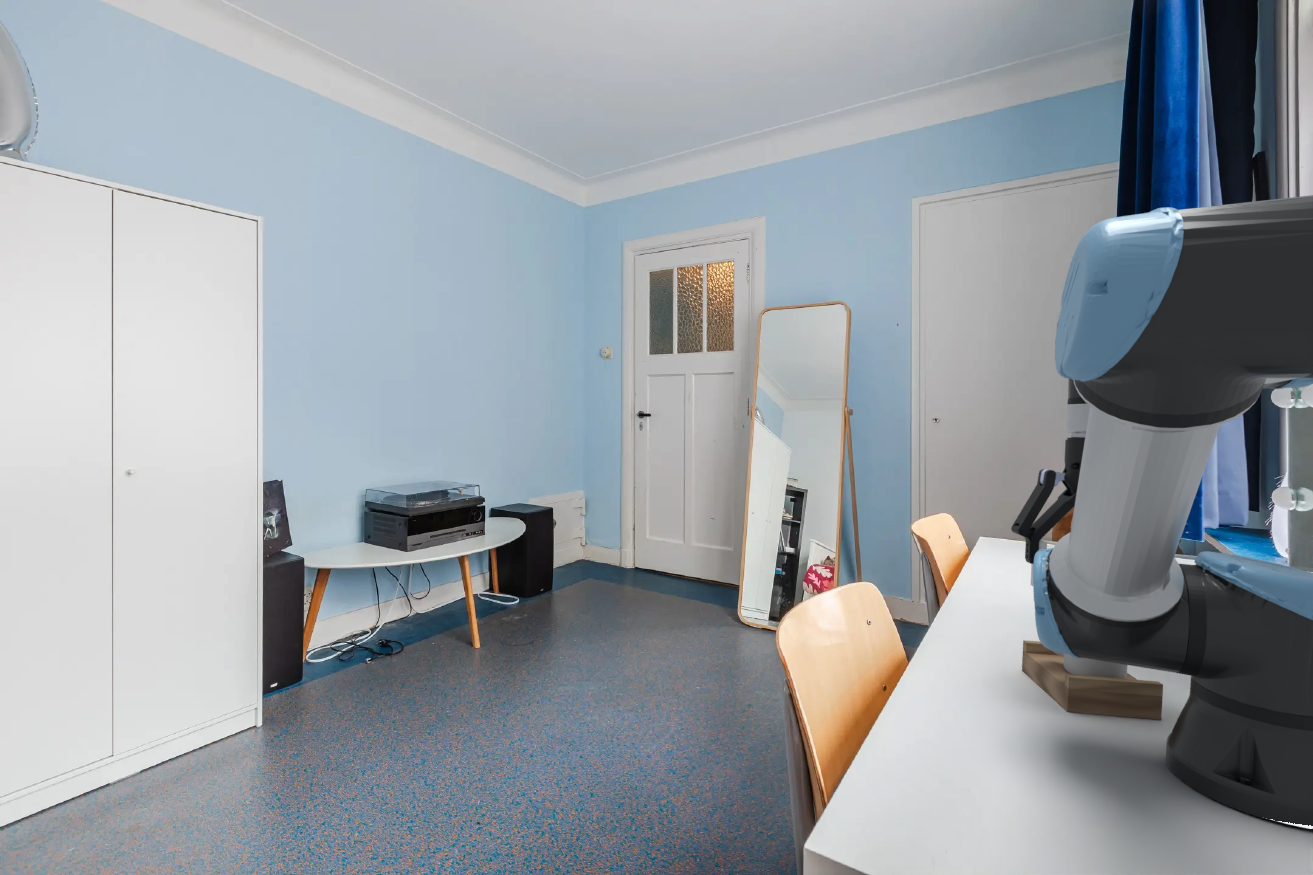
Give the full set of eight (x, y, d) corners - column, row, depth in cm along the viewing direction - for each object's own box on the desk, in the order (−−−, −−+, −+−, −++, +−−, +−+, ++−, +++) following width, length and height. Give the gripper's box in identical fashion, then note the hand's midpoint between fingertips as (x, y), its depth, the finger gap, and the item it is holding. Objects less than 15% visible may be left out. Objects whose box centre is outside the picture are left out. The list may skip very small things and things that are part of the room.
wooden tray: (1161, 719, 81) (1163, 684, 81) (1067, 711, 83) (1068, 677, 83) (1101, 676, 95) (1102, 646, 95) (1021, 669, 97) (1023, 640, 96)
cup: (1115, 689, 83) (1119, 621, 82) (1032, 664, 91) (1035, 602, 90) (1134, 677, 87) (1137, 611, 87) (1053, 654, 95) (1056, 594, 95)
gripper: (1180, 439, 90) (1173, 590, 90) (990, 433, 93) (984, 578, 94) (1219, 440, 82) (1211, 605, 83) (1011, 433, 86) (1004, 591, 86)
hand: (1090, 591), depth 88 cm, fingers open, 13 cm apart
